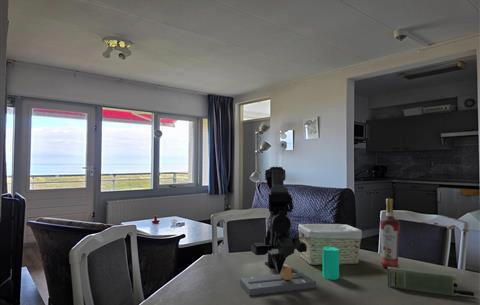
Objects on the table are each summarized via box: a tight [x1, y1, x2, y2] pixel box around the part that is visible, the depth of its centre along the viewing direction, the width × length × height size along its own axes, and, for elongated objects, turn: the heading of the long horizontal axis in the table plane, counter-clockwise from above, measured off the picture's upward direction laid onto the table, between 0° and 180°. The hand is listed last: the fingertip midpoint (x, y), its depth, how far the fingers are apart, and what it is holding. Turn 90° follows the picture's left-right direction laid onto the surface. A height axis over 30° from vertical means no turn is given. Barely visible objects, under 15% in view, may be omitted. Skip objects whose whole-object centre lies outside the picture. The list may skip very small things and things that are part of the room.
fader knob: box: [279, 263, 292, 280], centre depth 110 cm, size 4×2×4 cm, turn 17°
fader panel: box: [239, 271, 317, 296], centre depth 109 cm, size 10×24×2 cm, turn 107°
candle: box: [322, 247, 340, 280], centre depth 119 cm, size 6×6×12 cm
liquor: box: [379, 198, 401, 270], centre depth 131 cm, size 7×7×28 cm
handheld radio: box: [387, 267, 475, 297], centre depth 106 cm, size 7×3×25 cm
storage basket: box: [297, 223, 363, 266], centre depth 140 cm, size 24×16×15 cm
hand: (278, 272), depth 110 cm, fingers closed
